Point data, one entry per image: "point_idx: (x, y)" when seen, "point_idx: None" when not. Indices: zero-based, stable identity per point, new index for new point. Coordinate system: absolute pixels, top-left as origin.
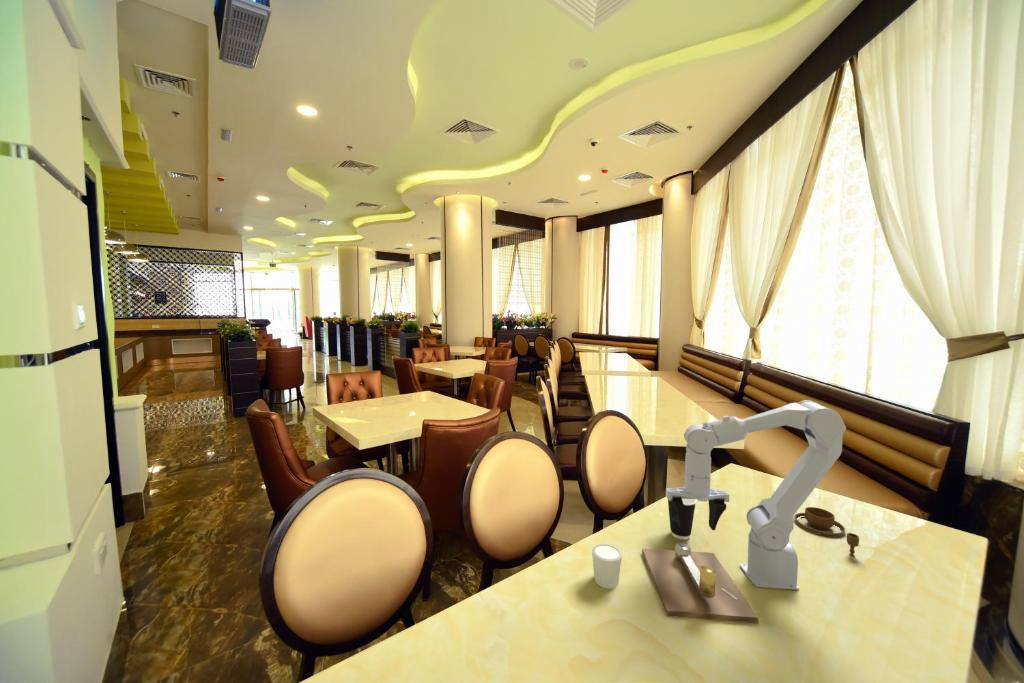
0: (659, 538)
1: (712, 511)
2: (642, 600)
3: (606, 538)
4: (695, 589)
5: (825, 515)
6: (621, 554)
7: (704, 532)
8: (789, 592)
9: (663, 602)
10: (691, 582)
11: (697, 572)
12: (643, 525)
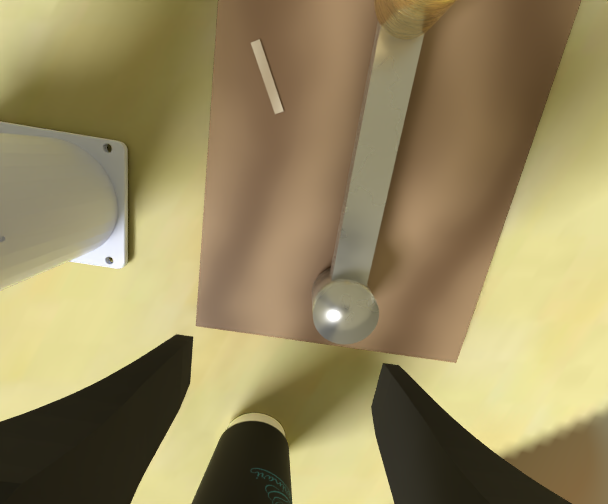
0: (341, 422)
1: (118, 465)
2: (604, 96)
3: (530, 430)
4: None
5: None
6: None
7: (161, 446)
8: (12, 110)
9: (561, 48)
10: None
11: (365, 156)
12: (359, 489)
